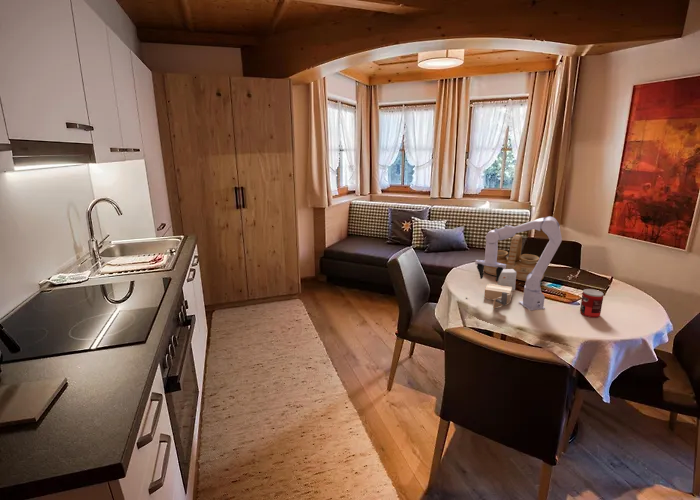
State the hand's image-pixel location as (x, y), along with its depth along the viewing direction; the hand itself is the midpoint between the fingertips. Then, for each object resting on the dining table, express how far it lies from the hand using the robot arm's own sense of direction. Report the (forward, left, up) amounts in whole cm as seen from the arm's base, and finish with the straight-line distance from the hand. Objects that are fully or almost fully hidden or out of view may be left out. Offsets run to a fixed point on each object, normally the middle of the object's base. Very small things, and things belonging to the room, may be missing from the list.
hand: (489, 279), depth 185 cm
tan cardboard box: (-12, -3, -10) cm, 16 cm away
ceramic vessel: (+28, -31, -11) cm, 43 cm away
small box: (+10, -16, -11) cm, 22 cm away
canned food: (-26, -36, -11) cm, 46 cm away
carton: (0, -6, -10) cm, 12 cm away
